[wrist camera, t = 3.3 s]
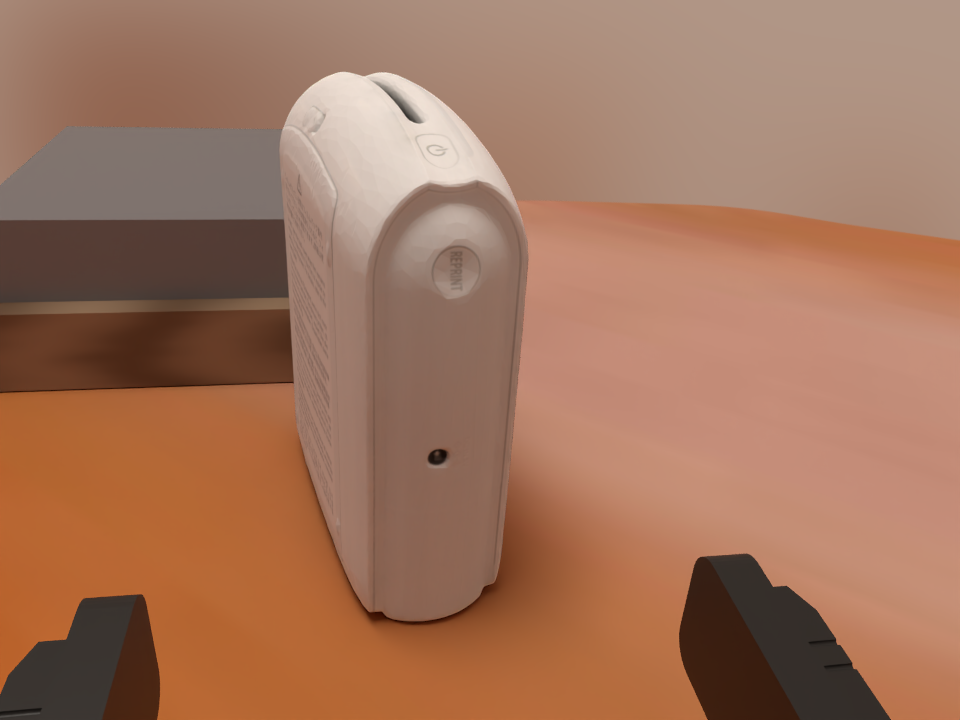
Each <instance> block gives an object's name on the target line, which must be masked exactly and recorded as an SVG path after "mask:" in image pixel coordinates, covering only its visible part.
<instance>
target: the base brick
mask: <svg viewBox="0 0 960 720" xmlns="http://www.w3.org/2000/svg"><path fill="white" fill-rule="evenodd" d="M270 382H294V375H293V357H292V340H291V322H290V306H289V298H233V299H178V300H122V301H66V302H11V303H0V392H6V391H35V390H64V389H94V388H123V387H153V386H182V385H212V384H241V383H270Z"/></svg>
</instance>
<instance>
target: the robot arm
mask: <svg viewBox="0 0 960 720" xmlns="http://www.w3.org/2000/svg"><path fill="white" fill-rule="evenodd" d="M679 643H680V652H681V657H682V661H683V665H684V668H685V670H686V673H687V675H688V677H689V680H690V682H691V684H692V686H693V688H694V691H695V693H696V695H697V697H698V699H699V701H700V704H701V706H702V708H703V710H704V712H705V715H706V717H707V719H708V720H891V719H890V718H889V716H888V715H887V713H886V712H885V710H884V709H883V707H882V706H881V704H880V703H879V701H878V700H877V699H876V697H875V696H874V694H873V693H872V691H871V690H870V688H869V687H868V685H867V684H866V682H865V681H864V679H863V678H862V676H861V675H860V673H859V672H858V671H857V669H853V667H852V662H851V660H850V659H849V657H848V656H847V654H846V653H845V651H844V650H843V648H842V647H841V645H837V643H836V638H835V637H834V635H833V634H832V632H831V631H830V629H829V628H828V626H827V625H826V623H825V622H824V620H823V619H822V617H821V616H820V615H819V613H818V612H817V610H816V609H814V608H813V607H812V606H811V605H810V604H808V603H807V602H806V601H805V600H803V599H802V598H801V597H800V596H799V595H797V594H796V593H795V592H794V591H792V590H791V589H790V588H789V587H787V586H779V587H773V586H772V585H771V583H770V581H769V580H768V578H767V577H766V575H765V574H764V572H763V570H762V569H761V567H760V566H759V564H758V563H757V561H756V560H755V559H754V558H753V557H752V556H751V555H749V554H735V555H721V556H706V557H700V558H698V560H697V561H696V563H695V565H694V569H693V573H692V578H691V582H690V586H689V591H688V595H687V599H686V604H685V608H684V612H683V617H682V621H681V625H680V632H679ZM159 699H160V677H159V669H158V663H157V658H156V653H155V647H154V642H153V637H152V632H151V626H150V621H149V616H148V611H147V605H146V601H145V598H144V597H143V595H141V594H139V595H125V596H110V597H96V598H85V599H83V600H82V601H81V603H80V604H79V606H78V609H77V611H76V614H75V617H74V620H73V623H72V625H71V628H70V631H69V634H68V637H67V639H66V640H56V641H44V642H38V643H37V644H36V645H35V646H34V648H33V649H32V650H31V651H30V652H29V653H28V654H27V655H26V656H25V657H24V659H23V660H22V661H21V662H20V663H19V664H18V665H17V666H16V667H15V669H14V670H13V671H12V672H11V673H10V674H9V675H8V678H7V680H6V682H5V685H4V687H3V690H2V692H1V694H0V720H157V716H158V710H159Z"/></svg>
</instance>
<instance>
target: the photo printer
mask: <svg viewBox="0 0 960 720" xmlns="http://www.w3.org/2000/svg"><path fill="white" fill-rule="evenodd" d="M279 153H280V170H281V184H282V197H283V211H284V224H285V239H286V255H287V272H288V289H289V306H290V322H291V340H292V357H293V375H294V393H295V411H296V423H297V429H298V434H299V438H300V441H301V445H302V449H303V453H304V457H305V462H306V465H307V467H308V469H309V472H310V476H311V479H312V482H313V485H314V488H315V491H316V494H317V497H318V500H319V503H320V506H321V509H322V512H323V514H324V517H325V520H326V522H327V526H328V529H329V531H330V534H331V536H332V539H333V542H334V544H335V548H336V551H337V553H338V555H339V558H340V560H341V563H342V565H343V568H344V570H345V572H346V575H347V577H348V579H349V581H350V583H351V586H352V588H353V589H354V591H355V593H356V595H357V596H358V598H359V600H360V601H361V603H362V604H363V606H364V607H365V608H366V609H367V611H369V612H379V611H381V612H383V613H384V614H385V616H386V617H388V618H391V619H394V620H401V621H427V620H434V619H439V618H443V617H446V616H449V615H452V614H454V613H456V612H459V611H461V610H462V609H464V608H466V607H467V606H469V605H470V604H472V603H473V602H474V601H475V600H476V599H477V598H478V597H479V596H480V594H481V591H482V589H483V587H484V586H487V585H490V584H493V583H494V582H495V580H496V577H497V574H498V570H499V565H500V559H501V552H502V543H503V531H504V522H505V513H506V502H507V491H508V481H509V470H510V461H511V449H512V439H513V427H514V417H515V407H516V395H517V385H518V374H519V365H520V352H521V342H522V332H523V320H524V306H525V293H526V283H527V271H528V242H527V237H526V233H525V228H524V225H523V221H522V217H521V214H520V212H519V209H518V206H517V203H516V201H515V198H514V196H513V194H512V191H511V189H510V187H509V185H508V184H507V181H506V180H505V178H504V176H503V174H502V172H501V171H500V169H499V167H498V166H497V164H496V163H495V161H494V160H493V159H492V157H491V155H490V153H489V152H488V151H487V150H486V148H485V147H484V146H483V144H482V143H481V142H480V141H479V139H478V138H477V136H476V135H475V134H474V133H473V132H472V131H471V129H470V128H469V127H468V126H467V125H466V124H465V123H464V122H463V121H462V120H461V119H460V118H459V117H458V116H457V115H456V114H455V113H454V112H453V111H452V110H451V109H450V108H449V107H448V106H447V105H445V104H444V103H443V102H442V101H441V100H439V99H438V98H437V97H436V96H434V95H433V94H431V93H430V92H428V91H427V90H425V89H424V88H422V87H420V86H418V85H417V84H415V83H413V82H411V81H409V80H407V79H405V78H403V77H400V76H398V75H395V74H390V73H384V72H382V73H375V74H371V75H367V76H365V77H363V76H360V75H357V74H353V73H348V72H339V73H335V74H333V75H330V76H327V77H325V78H323V79H321V80H320V81H318V82H317V83H315V84H313V85H312V86H311V87H310V88H309V89H308V90H306V91H305V92H304V93H303V95H302V96H301V97H300V98H299V99H298V101H297V102H296V103H295V105H294V106H293V108H292V110H291V111H290V113H289V115H288V117H287V120H286V123H285V126H284V128H283V130H282V133H281V138H280V148H279Z"/></svg>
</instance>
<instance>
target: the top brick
mask: <svg viewBox="0 0 960 720" xmlns="http://www.w3.org/2000/svg"><path fill="white" fill-rule="evenodd" d="M282 130H283V129H218V128H215V129H214V128H146V127H145V128H142V127H74V126H71V127H69V126H67V127H66V128H65V129H64V130H62V131H61V132H60V133H59V134H58V135H57V136H56V137H54V138H53V139H52V140H51V141H50V142H49V143H48V144H46V145H45V146H44V147H43V148H42V149H41V150H40V151H38V152H37V153H36V154H35V155H34V156H33V157H32V158H30V159H29V160H28V161H27V162H26V163H25V164H24V165H23V166H21V167H20V168H19V169H18V170H17V171H16V172H15V173H13V174H12V175H11V176H10V177H9V178H8V179H7V180H5V181H4V182H3V183H2V184H1V185H0V303H11V302H66V301H122V300H178V299H233V298H289V289H288V272H287V255H286V239H285V224H284V211H283V197H282V184H281V170H280V153H279V148H280V138H281V133H282Z"/></svg>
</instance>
